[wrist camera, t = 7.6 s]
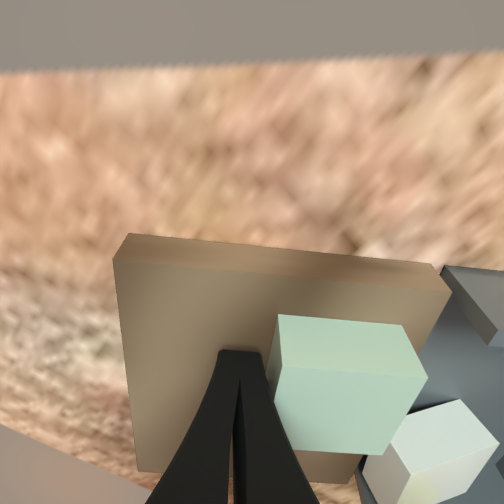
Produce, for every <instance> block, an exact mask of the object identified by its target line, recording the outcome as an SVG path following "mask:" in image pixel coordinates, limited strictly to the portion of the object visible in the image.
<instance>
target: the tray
mask: <svg viewBox="0 0 504 504" xmlns="http://www.w3.org/2000/svg"><path fill="white" fill-rule="evenodd" d="M440 277H441V278H442V279H443V280H444V282H445V283H446V284H447V286H448V287H449V288H450V290H451V291H452V294H451V296H450V298H449V299H448V301H447V303H446V305H445V307H444V309H443V310H442V312H441V314H440V316H439V318H438V319H437V321H436V323H435V325H434V327H433V329H432V330H431V332H430V334H429V336H428V338H427V340H426V341H425V343H424V345H423V347H422V349H421V350H420V352H419V354H418V358H419V360H420V362H421V364H422V366H423V368H424V370H425V372H426V374H427V376H428V379H427V381H426V383H425V384H424V386H423V388H422V389H421V391H420V393H419V394H418V396H417V398H416V399H415V401H414V403H413V404H412V406H411V408H410V409H409V411H408V413H407V414H406V415H409V414H412V413H415V412H419V411H422V410H425V409H428V408H432V407H435V406H438V405H441V404H445V403H448V402H451V401H455V400H458V399H460V400H461V401H462V402H463V403H464V404H465V405H466V406H467V407H468V409H469V410H470V411H471V412H472V413H473V414H474V415H475V416H476V417H477V419H478V420H479V421H480V422H481V423H482V424H483V425H484V426H485V428H486V429H487V430H488V431H489V432H490V433H491V434H492V435H493V437H494V438H495V439H496V440H497V441H498V442H499V443H500V444H499V445H498V447H497V448H496V450H495V451H494V453H493V454H492V455H491V457H490V458H489V460H488V461H487V463H486V464H485V465H484V467H483V468H482V470H481V471H480V473H479V474H478V475H477V477H476V478H475V480H474V481H473V483H472V484H471V485H470V487H469V488H468V490H467V491H466V493H463V494H460V495H458V496H455V497H453V498H450V499H447V500H445V501H442V502H440V503H437V504H504V271H497V270H487V269H477V268H467V267H457V266H448V265H445V266H444V268H443V270H442V272H441V274H440ZM367 457H368V455H367V454H363V456H362V458H361V460H360V462H359V464H358V465H357V467H356V469H355V471H354V473H355V478H356V482H357V486H358V491H359V495H360V499H361V504H378V503H377V501H376V499H375V497H374V495H373V493H372V491H371V490H370V488H369V486H368V484H367V482H366V480H365V478H364V476H363V474H362V472H363V469H364V466H365V463H366V460H367Z"/></svg>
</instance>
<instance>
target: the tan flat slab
mask: <svg viewBox="0 0 504 504" xmlns="http://www.w3.org/2000/svg"><path fill="white" fill-rule="evenodd" d="M112 260H113V268H114V276H115V285H116V293H117V301H118V310H119V318H120V326H121V334H122V343H123V351H124V359H125V368H126V376H127V384H128V393H129V401H130V409H131V418H132V426H133V434H134V442H135V451H136V459H137V467H138V472H154V473H165V471H166V469H167V467H168V466H169V464H170V462H171V461H172V459H173V457H174V455H175V454H176V452H177V450H178V448H179V446H180V445H181V443H182V441H183V439H184V437H185V435H186V433H187V431H188V429H189V427H190V425H191V423H192V421H193V419H194V417H195V415H196V413H197V411H198V409H199V407H200V404H201V402H202V400H203V397H204V395H205V393H206V390H207V388H208V385H209V383H210V380H211V377H212V374H213V371H214V368H215V365H216V361H217V356H218V351H220V350H222V349H226V350H238V351H250V352H259V353H260V354H261V355H262V360H263V365H264V370H265V374H266V369H267V364H268V360H269V355H270V350H271V345H272V340H273V335H274V331H275V326H276V321H277V316H278V314H283V315H294V316H305V317H316V318H327V319H339V320H350V321H361V322H372V323H384V324H395V325H402V327H403V329H404V331H405V333H406V335H407V337H408V339H409V341H410V343H411V344H412V346H413V348H414V350H415V352H416V354H417V356H418V354H419V352H420V350H421V349H422V347H423V345H424V343H425V341H426V340H427V338H428V336H429V334H430V332H431V330H432V329H433V327H434V325H435V323H436V321H437V319H438V318H439V316H440V314H441V312H442V310H443V309H444V307H445V305H446V303H447V301H448V299H449V298H450V296H451V294H452V291H451V290H450V288H449V287H448V286H447V284H446V283H445V282H444V280H443V279H442V278H441V277H440V275H439V274H438V273H437V271H436V270H435V269H434V267H433V266H432V265H431V264H428V263H418V262H408V261H398V260H388V259H378V258H369V257H359V256H349V255H339V254H329V253H319V252H309V251H299V250H289V249H280V248H270V247H260V246H250V245H240V244H230V243H220V242H210V241H201V240H191V239H181V238H171V237H161V236H151V235H141V234H131V233H128V235H127V237H126V238H125V240H124V241H123V243H122V245H121V246H120V248H119V250H118V251H117V253H116V254H115V256H114V258H113V259H112ZM293 451H294V453H295V455H296V458H297V460H298V462H299V464H300V466H301V468H302V470H303V472H304V474H305V476H306V478H307V480H308V482H317V483H334V484H348V482H349V480H350V478H351V476H352V475H353V473H354V471H355V469H356V467H357V465H358V464H359V462H360V460H361V458H362V456H363V454H352V453H337V452H322V451H307V450H293ZM229 477H233V450H232V436H231V446H230V460H229Z"/></svg>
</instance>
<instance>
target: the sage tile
mask: <svg viewBox="0 0 504 504" xmlns="http://www.w3.org/2000/svg"><path fill="white" fill-rule="evenodd" d="M266 378H267V381H268V385H269V388H270V391H271V394H272V397H273V400H274V403H275V406H276V409H277V411H278V414H279V417H280V420H281V422H282V425H283V427H284V430H285V432H286V435H287V437H288V439H289V442H290V444H291V446H292V449H293V450H307V451H322V452H337V453H352V454H367V455H383V453H384V451H385V450H386V448H387V446H388V445H389V443H390V441H391V440H392V438H393V436H394V435H395V433H396V431H397V430H398V428H399V426H400V425H401V423H402V421H403V419H404V418H405V416H406V414H407V413H408V411H409V409H410V408H411V406H412V404H413V403H414V401H415V399H416V398H417V396H418V394H419V393H420V391H421V389H422V388H423V386H424V384H425V383H426V381H427V379H428V376H427V374H426V372H425V370H424V368H423V366H422V364H421V362H420V360H419V358H418V356H417V354H416V352H415V350H414V348H413V346H412V344H411V343H410V341H409V339H408V337H407V335H406V333H405V331H404V329H403V327H402V325H395V324H384V323H372V322H361V321H350V320H339V319H327V318H316V317H305V316H294V315H283V314H278V316H277V321H276V326H275V331H274V335H273V340H272V345H271V350H270V355H269V360H268V364H267V369H266Z"/></svg>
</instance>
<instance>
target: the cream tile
mask: <svg viewBox="0 0 504 504" xmlns="http://www.w3.org/2000/svg"><path fill="white" fill-rule="evenodd" d="M499 444H500V443H499V442H498V441H497V440H496V439H495V438H494V437H493V435H492V434H491V433H490V432H489V431H488V430H487V429H486V428H485V426H484V425H483V424H482V423H481V422H480V421H479V420H478V419H477V417H476V416H475V415H474V414H473V413H472V412H471V411H470V410H469V409H468V407H467V406H466V405H465V404H464V403H463V402H462V401H461V400H460V399H458V400H455V401H451V402H448V403H445V404H441V405H438V406H435V407H432V408H428V409H425V410H422V411H419V412H415V413H412V414H409V415H406V416H405V418H404V419H403V421H402V423H401V425H400V426H399V428H398V430H397V431H396V433H395V435H394V436H393V438H392V440H391V441H390V443H389V445H388V446H387V448H386V450H385V451H384V453H383V455H368V457H367V460H366V463H365V466H364V469H363V472H362V474H363V476H364V478H365V480H366V482H367V484H368V486H369V488H370V490H371V491H372V493H373V495H374V497H375V499H376V501H377V503H378V504H437V503H440V502H442V501H445V500H447V499H450V498H453V497H455V496H458V495H460V494H463V493H466V491H467V490H468V488H469V487H470V485H471V484H472V483H473V481H474V480H475V478H476V477H477V475H478V474H479V473H480V471H481V470H482V468H483V467H484V465H485V464H486V463H487V461H488V460H489V458H490V457H491V455H492V454H493V453H494V451H495V450H496V448H497V447H498V445H499Z"/></svg>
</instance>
